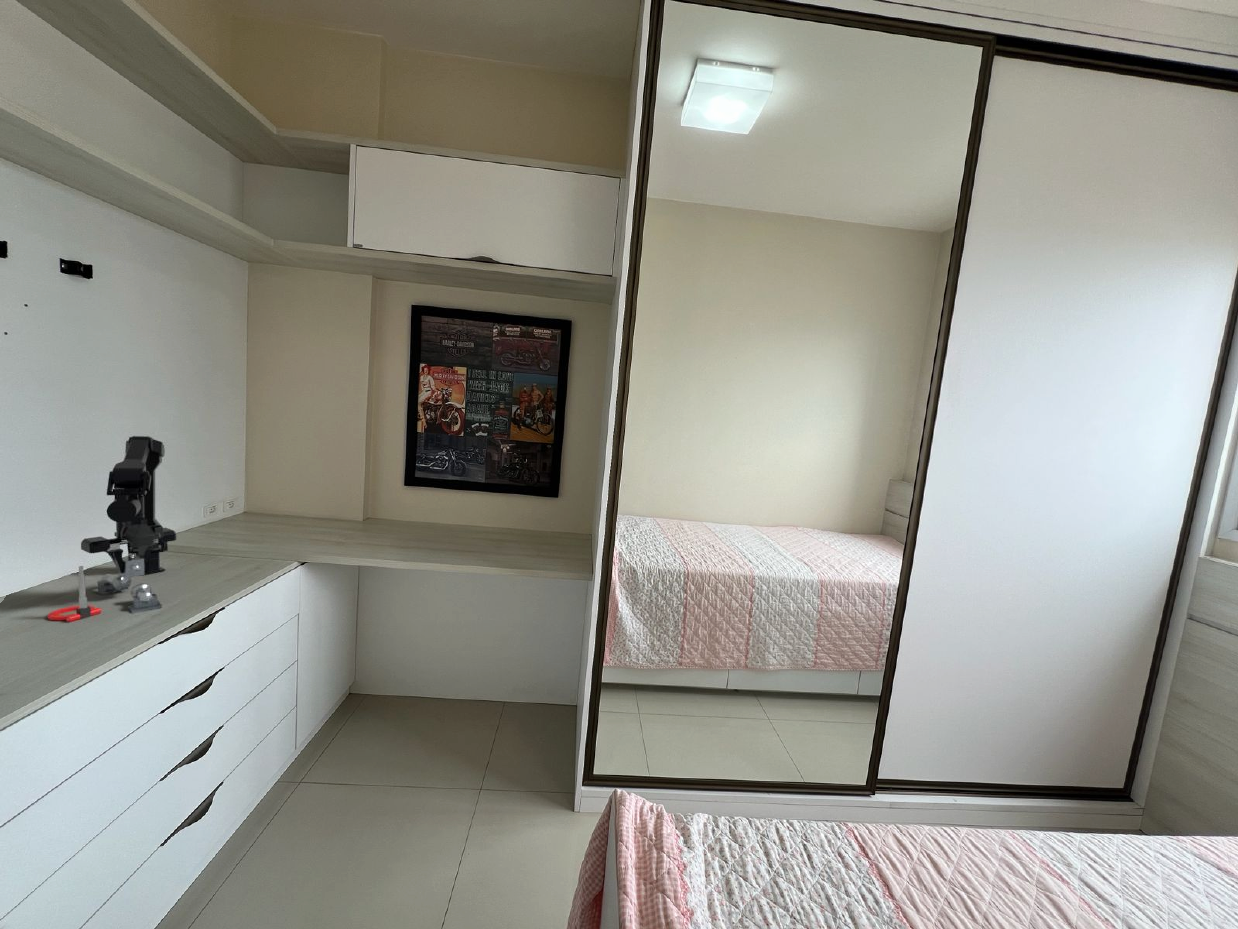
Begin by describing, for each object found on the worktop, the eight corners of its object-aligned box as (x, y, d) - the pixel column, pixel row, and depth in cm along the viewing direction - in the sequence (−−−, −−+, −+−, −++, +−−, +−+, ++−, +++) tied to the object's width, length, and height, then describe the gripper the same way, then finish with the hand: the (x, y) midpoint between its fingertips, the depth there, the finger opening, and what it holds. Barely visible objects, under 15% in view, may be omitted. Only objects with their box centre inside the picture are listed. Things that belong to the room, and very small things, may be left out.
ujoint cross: (116, 574, 153) (116, 553, 152) (135, 570, 157) (134, 550, 156) (128, 579, 150) (127, 558, 149) (146, 575, 154) (146, 555, 153)
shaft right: (162, 607, 149) (161, 588, 149) (132, 613, 145) (131, 593, 144) (155, 599, 154) (155, 581, 153) (126, 604, 149) (126, 585, 149)
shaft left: (92, 592, 156) (91, 574, 155) (116, 585, 161) (116, 568, 161) (110, 596, 154) (110, 578, 153) (135, 590, 159) (134, 572, 159)
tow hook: (38, 619, 138) (65, 624, 136) (35, 567, 137) (62, 571, 135) (80, 608, 146) (105, 612, 144) (77, 558, 145) (103, 562, 143)
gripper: (98, 524, 139) (100, 586, 141) (186, 514, 156) (186, 569, 158) (79, 517, 145) (81, 576, 147) (165, 507, 161) (166, 561, 163)
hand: (131, 571), depth 153 cm, fingers closed on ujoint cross, 4 cm apart
